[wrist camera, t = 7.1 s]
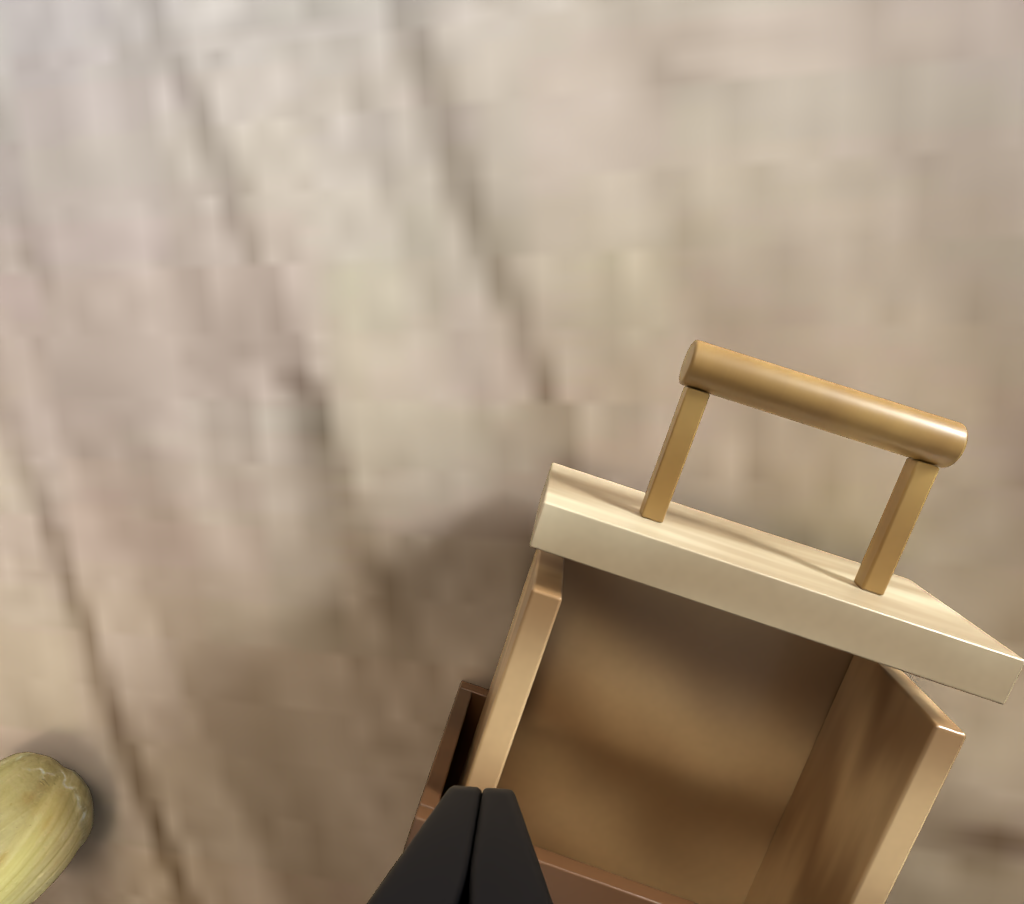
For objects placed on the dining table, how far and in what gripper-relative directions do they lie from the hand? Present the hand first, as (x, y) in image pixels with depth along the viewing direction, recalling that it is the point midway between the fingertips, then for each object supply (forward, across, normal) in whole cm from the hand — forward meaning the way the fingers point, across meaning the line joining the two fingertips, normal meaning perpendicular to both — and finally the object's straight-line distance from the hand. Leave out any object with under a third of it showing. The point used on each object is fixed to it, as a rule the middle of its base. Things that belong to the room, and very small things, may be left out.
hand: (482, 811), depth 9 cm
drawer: (+12, -5, +6) cm, 15 cm away
